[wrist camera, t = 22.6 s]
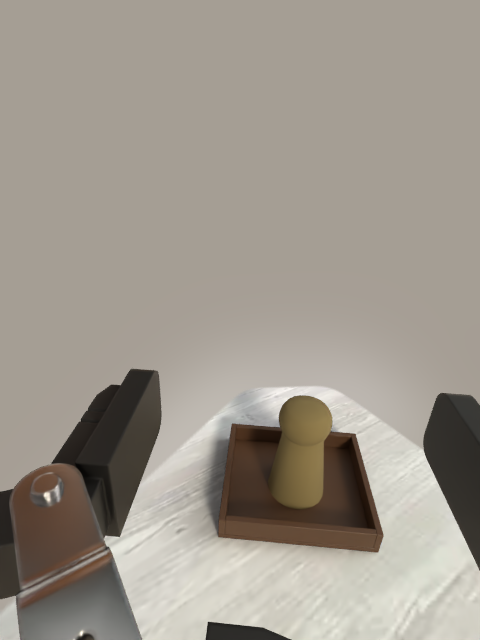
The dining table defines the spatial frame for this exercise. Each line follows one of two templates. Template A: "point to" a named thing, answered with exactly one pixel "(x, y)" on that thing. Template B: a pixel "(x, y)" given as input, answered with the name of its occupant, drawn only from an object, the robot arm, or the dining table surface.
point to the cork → (300, 453)
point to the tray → (297, 524)
